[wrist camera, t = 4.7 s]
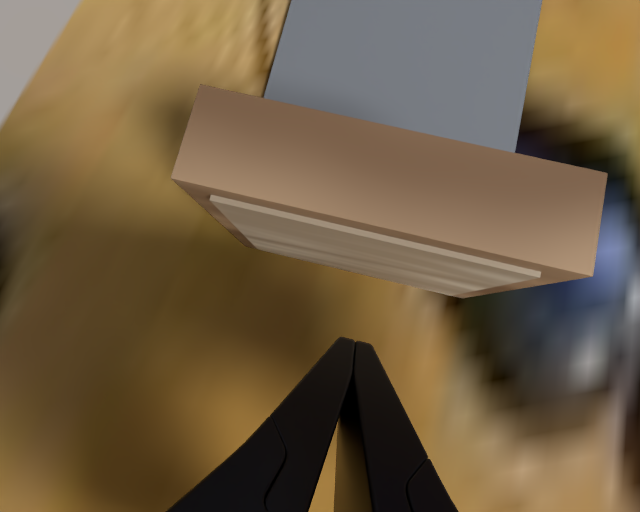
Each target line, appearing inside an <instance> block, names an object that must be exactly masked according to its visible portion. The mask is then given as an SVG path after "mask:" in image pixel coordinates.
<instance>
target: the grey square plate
mask: <svg viewBox="0 0 640 512" xmlns="http://www.w3.org/2000/svg"><path fill="white" fill-rule="evenodd" d="M541 4H542V0H291V4H290V7H289V11H288V14H287V18H286V21H285V25H284V28H283V32H282V35H281V39H280V42H279V46H278V49H277V53H276V56H275V60H274V63H273V66H272V70H271V73H270V77H269V80H268V84H267V87H266V91H265V94H264V98H265V99H270V100H275V101H279V102H284V103H288V104H293V105H297V106H302V107H307V108H311V109H316V110H320V111H325V112H329V113H334V114H339V115H343V116H348V117H352V118H357V119H362V120H366V121H371V122H375V123H380V124H384V125H389V126H394V127H398V128H403V129H407V130H412V131H416V132H421V133H426V134H430V135H435V136H439V137H444V138H448V139H453V140H458V141H462V142H467V143H471V144H476V145H481V146H485V147H490V148H494V149H499V150H503V151H508V152H513V153H515V149H516V143H517V138H518V132H519V126H520V121H521V115H522V110H523V104H524V99H525V93H526V88H527V82H528V76H529V71H530V65H531V60H532V54H533V49H534V43H535V38H536V32H537V26H538V21H539V15H540V10H541Z"/></svg>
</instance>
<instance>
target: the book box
mask: <svg viewBox="0 0 640 512" xmlns="http://www.w3.org/2000/svg"><path fill="white" fill-rule="evenodd" d="M171 179H172V180H173V181H174V182H175V183H177V184H178V185H179V186H180V187H181V188H182V189H183V190H184V191H185V192H186V193H188V194H189V195H190V196H191V197H192V198H193V199H194V200H195V201H196V202H198V203H199V204H200V205H201V206H202V207H203V208H204V209H205V210H206V211H207V212H209V213H210V214H211V215H212V216H213V217H214V218H215V219H216V220H217V221H218V222H220V223H221V224H222V225H223V226H224V227H225V228H226V229H227V230H228V231H229V232H231V233H232V234H233V235H234V236H235V237H236V238H237V239H238V240H239V241H240V242H242V243H243V244H244V245H245V246H247V247H251V248H255V249H258V250H262V251H267V252H271V253H275V254H279V255H283V256H287V257H292V258H296V259H300V260H304V261H308V262H312V263H317V264H321V265H325V266H329V267H333V268H337V269H342V270H346V271H350V272H354V273H358V274H362V275H367V276H371V277H375V278H379V279H383V280H387V281H392V282H396V283H400V284H404V285H408V286H412V287H417V288H421V289H425V290H429V291H433V292H437V293H442V294H446V295H450V296H455V297H459V298H466V297H472V296H478V295H484V294H490V293H496V292H502V291H508V290H514V289H520V288H526V287H532V286H538V285H544V284H550V283H556V282H562V281H568V280H574V279H580V278H586V277H592V276H593V272H594V265H595V258H596V251H597V244H598V237H599V230H600V223H601V216H602V209H603V202H604V194H605V187H606V180H607V173H604V172H600V171H595V170H590V169H586V168H581V167H577V166H572V165H568V164H563V163H558V162H554V161H549V160H545V159H540V158H535V157H531V156H526V155H522V154H517V153H513V152H508V151H503V150H499V149H494V148H490V147H485V146H481V145H476V144H471V143H467V142H462V141H458V140H453V139H448V138H444V137H439V136H435V135H430V134H426V133H421V132H416V131H412V130H407V129H403V128H398V127H394V126H389V125H384V124H380V123H375V122H371V121H366V120H362V119H357V118H352V117H348V116H343V115H339V114H334V113H329V112H325V111H320V110H316V109H311V108H307V107H302V106H297V105H293V104H288V103H284V102H279V101H275V100H270V99H265V98H261V97H256V96H252V95H247V94H242V93H238V92H233V91H229V90H224V89H220V88H215V87H210V86H206V85H201V84H200V86H199V89H198V93H197V96H196V99H195V102H194V105H193V109H192V112H191V115H190V118H189V121H188V124H187V128H186V131H185V134H184V137H183V140H182V144H181V147H180V150H179V153H178V156H177V159H176V163H175V166H174V169H173V172H172V175H171Z"/></svg>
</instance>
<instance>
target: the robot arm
mask: <svg viewBox="0 0 640 512" xmlns="http://www.w3.org/2000/svg"><path fill="white" fill-rule="evenodd" d="M337 422H338V431H337V452H336V473H335V495H334V512H458V510H457V508H456V507H455V505H454V503H453V502H452V500H451V498H450V497H449V495H448V493H447V491H446V489H445V487H444V485H443V484H442V482H441V480H440V478H439V476H438V474H437V472H436V470H435V468H434V466H433V464H432V462H431V460H430V459H428V455H427V453H426V451H425V449H424V448H423V446H422V444H421V442H420V440H419V438H418V436H417V434H416V432H415V430H414V428H413V426H412V424H411V422H410V420H409V418H408V416H407V414H406V412H405V410H404V408H403V406H402V404H401V402H400V400H399V398H398V396H397V394H396V392H395V390H394V388H393V386H392V384H391V382H390V380H389V378H388V376H387V374H386V372H385V370H384V368H383V366H382V364H381V362H380V360H379V358H378V356H377V354H376V352H375V350H374V348H373V346H372V345H371V344H369V343H365V342H361V341H356V342H355V341H354V340H353V339H349V338H345V337H339V338H338V339H337V340H336V341H335V343H334V344H333V345H332V346H331V347H330V348H329V349H328V350H327V352H326V353H325V354H324V355H323V356H322V357H321V358H320V359H319V361H318V362H317V363H316V364H315V365H314V366H313V367H312V369H311V370H310V371H309V372H308V373H307V374H306V375H305V376H304V378H303V379H302V380H301V381H300V382H299V383H298V384H297V386H296V387H295V388H294V389H293V390H292V391H291V392H290V393H289V395H288V396H287V397H286V398H285V399H284V400H283V401H282V402H281V404H280V405H279V406H278V407H277V408H276V409H275V410H274V412H273V413H272V414H271V415H270V417H268V418H267V419H266V420H265V421H264V422H263V423H262V425H261V426H260V427H259V428H258V429H257V430H256V431H255V432H254V433H253V434H252V435H251V436H250V437H249V438H248V439H247V440H246V442H245V443H244V444H243V445H241V446H240V447H239V448H238V449H237V450H236V451H235V452H234V453H233V454H232V455H231V456H229V457H228V458H227V459H226V460H225V461H224V462H223V463H222V464H220V465H219V466H218V467H217V468H216V469H215V470H213V471H212V472H211V473H210V474H209V475H208V476H206V477H205V478H204V479H203V480H202V481H201V482H200V483H198V484H197V485H196V486H195V487H194V488H193V489H191V490H190V491H189V492H188V493H187V494H186V495H184V496H183V497H182V498H181V499H180V500H179V501H177V502H176V503H175V504H174V505H173V506H172V507H170V508H169V509H168V510H167V511H166V512H308V511H309V508H310V505H311V502H312V498H313V495H314V492H315V489H316V486H317V483H318V480H319V477H320V474H321V471H322V468H323V465H324V462H325V459H326V456H327V452H328V449H329V446H330V443H331V440H332V437H333V434H334V431H335V428H336V425H337Z"/></svg>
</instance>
